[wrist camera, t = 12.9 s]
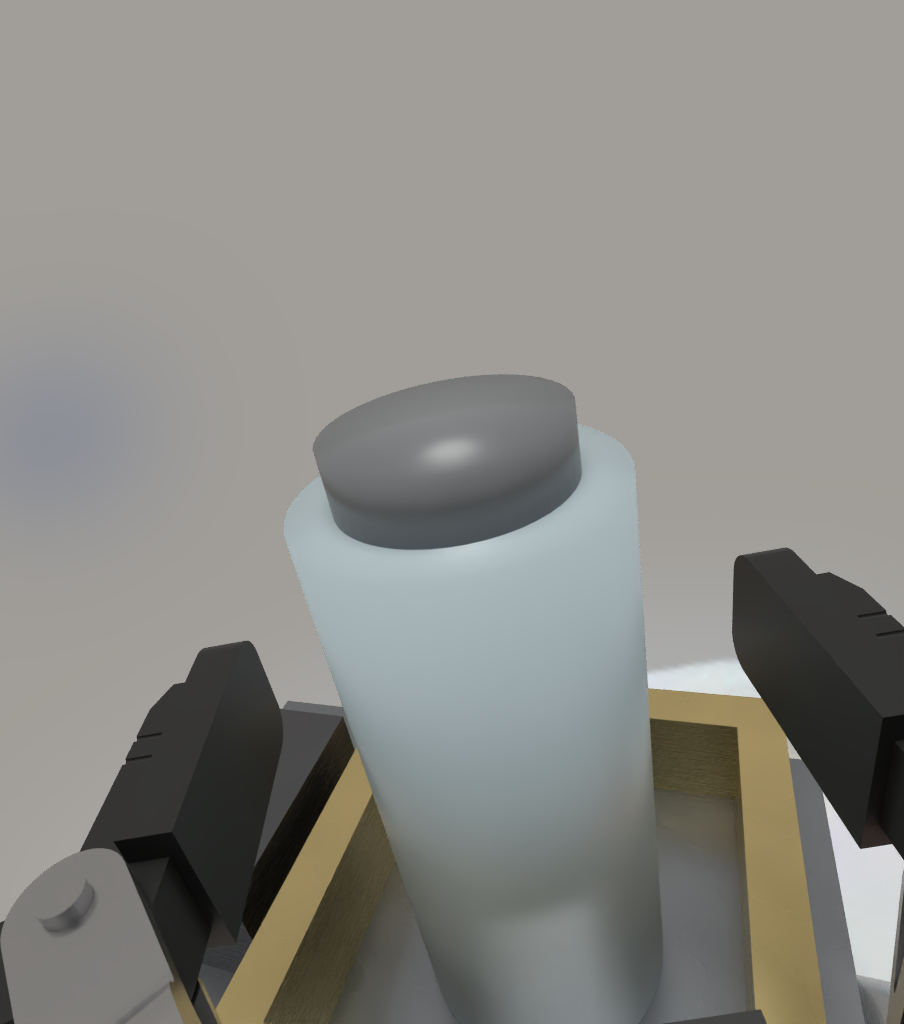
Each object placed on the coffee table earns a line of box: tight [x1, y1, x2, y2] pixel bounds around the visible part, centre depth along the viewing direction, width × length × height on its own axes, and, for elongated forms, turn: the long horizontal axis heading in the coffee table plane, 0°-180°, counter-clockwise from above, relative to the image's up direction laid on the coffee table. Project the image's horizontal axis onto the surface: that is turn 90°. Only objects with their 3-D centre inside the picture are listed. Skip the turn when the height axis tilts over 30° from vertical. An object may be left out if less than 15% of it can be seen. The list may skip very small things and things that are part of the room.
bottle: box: [283, 375, 663, 1024], centre depth 12 cm, size 5×5×12 cm
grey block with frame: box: [199, 688, 891, 1024], centre depth 16 cm, size 18×11×12 cm, turn 72°
